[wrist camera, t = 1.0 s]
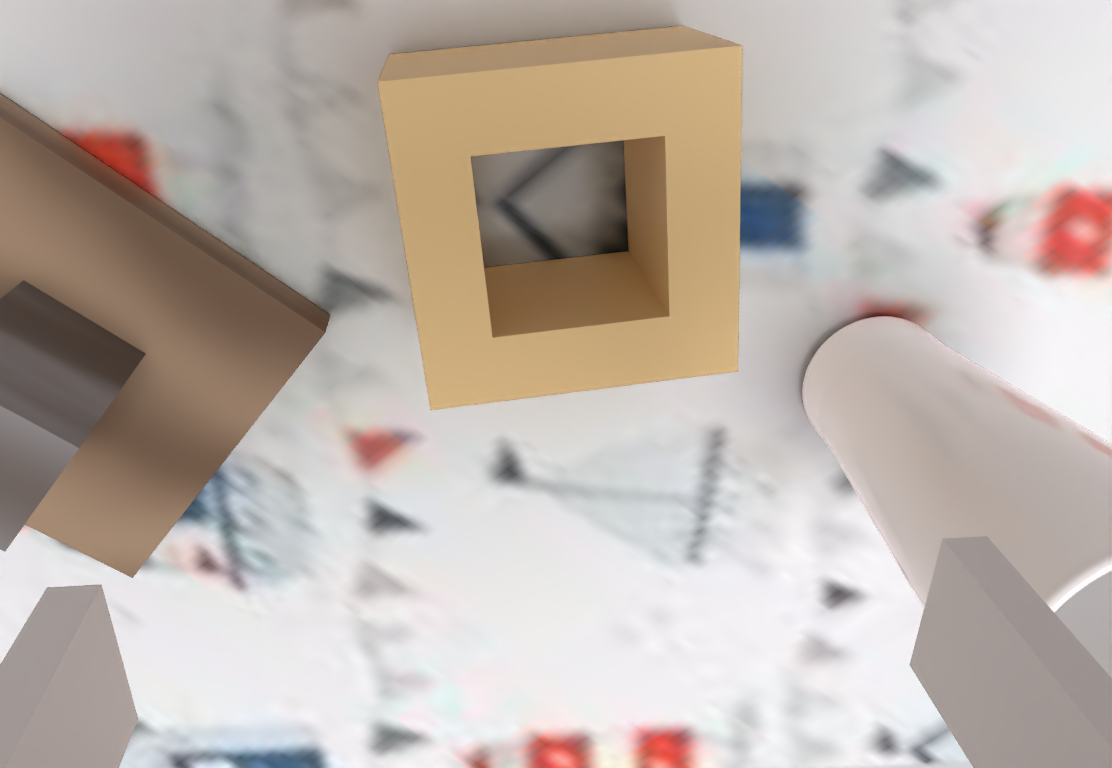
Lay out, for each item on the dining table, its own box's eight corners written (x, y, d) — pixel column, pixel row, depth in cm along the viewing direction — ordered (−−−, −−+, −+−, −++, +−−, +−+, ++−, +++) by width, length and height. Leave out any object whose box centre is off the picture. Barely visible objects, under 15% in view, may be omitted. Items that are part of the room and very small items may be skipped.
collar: (389, 54, 27) (377, 81, 22) (682, 25, 28) (742, 45, 22) (431, 329, 31) (430, 410, 26) (686, 298, 32) (738, 371, 26)
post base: (-23, 77, 26) (-183, 124, 19) (330, 314, 30) (300, 420, 24) (-198, 377, 29) (-387, 507, 22) (144, 552, 33) (72, 704, 27)
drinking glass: (986, 329, 34) (1349, 583, 20) (888, 474, 36) (1155, 787, 23) (838, 264, 32) (1132, 497, 18) (745, 422, 34) (945, 730, 21)
